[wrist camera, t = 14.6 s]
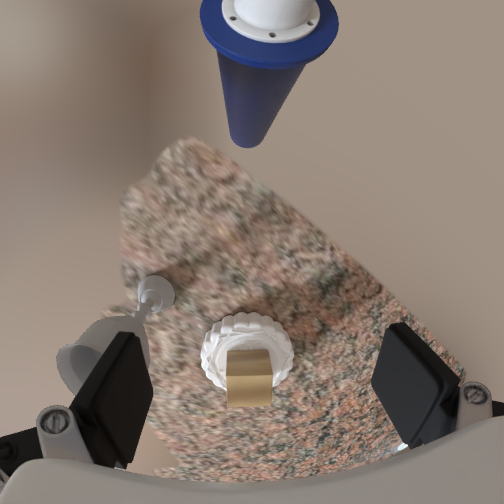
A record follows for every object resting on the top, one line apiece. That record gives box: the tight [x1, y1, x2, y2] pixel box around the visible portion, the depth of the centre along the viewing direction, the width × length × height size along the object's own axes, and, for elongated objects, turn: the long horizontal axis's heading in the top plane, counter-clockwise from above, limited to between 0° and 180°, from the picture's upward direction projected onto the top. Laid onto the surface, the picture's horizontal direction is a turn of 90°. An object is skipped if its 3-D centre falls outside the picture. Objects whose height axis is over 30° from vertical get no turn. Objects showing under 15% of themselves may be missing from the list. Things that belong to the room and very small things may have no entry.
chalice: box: [56, 275, 175, 396], centre depth 24 cm, size 7×7×18 cm
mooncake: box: [201, 312, 294, 391], centre depth 34 cm, size 12×12×4 cm
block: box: [226, 350, 273, 407], centre depth 29 cm, size 5×5×5 cm
